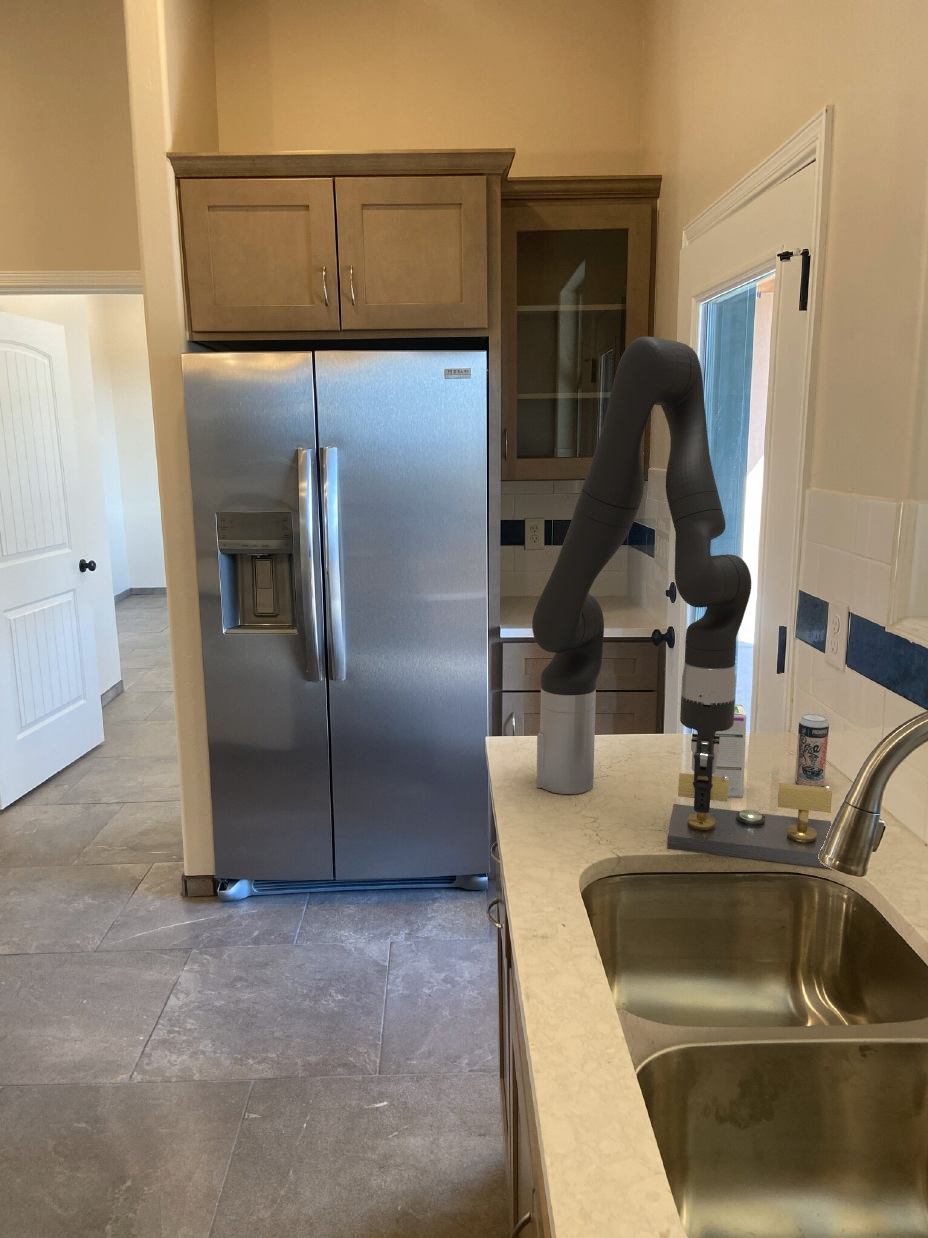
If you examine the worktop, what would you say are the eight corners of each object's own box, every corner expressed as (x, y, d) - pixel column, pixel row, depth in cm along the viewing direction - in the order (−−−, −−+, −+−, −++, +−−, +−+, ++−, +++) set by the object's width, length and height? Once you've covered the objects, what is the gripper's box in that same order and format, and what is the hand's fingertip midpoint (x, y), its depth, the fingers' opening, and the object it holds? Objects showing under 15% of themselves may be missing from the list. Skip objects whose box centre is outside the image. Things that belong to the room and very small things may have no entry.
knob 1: (676, 827, 132) (678, 776, 130) (677, 816, 136) (680, 766, 134) (725, 833, 130) (728, 781, 128) (725, 822, 134) (728, 771, 132)
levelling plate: (667, 848, 130) (668, 829, 129) (673, 815, 141) (673, 797, 141) (837, 869, 123) (839, 849, 123) (829, 833, 135) (831, 814, 134)
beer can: (796, 788, 152) (801, 720, 150) (792, 778, 157) (797, 712, 154) (826, 790, 151) (831, 722, 149) (822, 780, 155) (827, 714, 153)
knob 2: (776, 839, 128) (780, 786, 126) (775, 827, 132) (779, 776, 130) (828, 845, 126) (833, 791, 124) (826, 833, 130) (830, 781, 128)
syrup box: (743, 798, 148) (748, 714, 145) (706, 795, 149) (711, 712, 146) (740, 785, 153) (745, 704, 151) (704, 783, 155) (709, 702, 152)
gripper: (684, 679, 137) (679, 784, 140) (678, 705, 123) (672, 821, 127) (735, 682, 135) (729, 790, 138) (734, 709, 121) (728, 827, 125)
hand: (702, 804), depth 132 cm, fingers open, 4 cm apart
